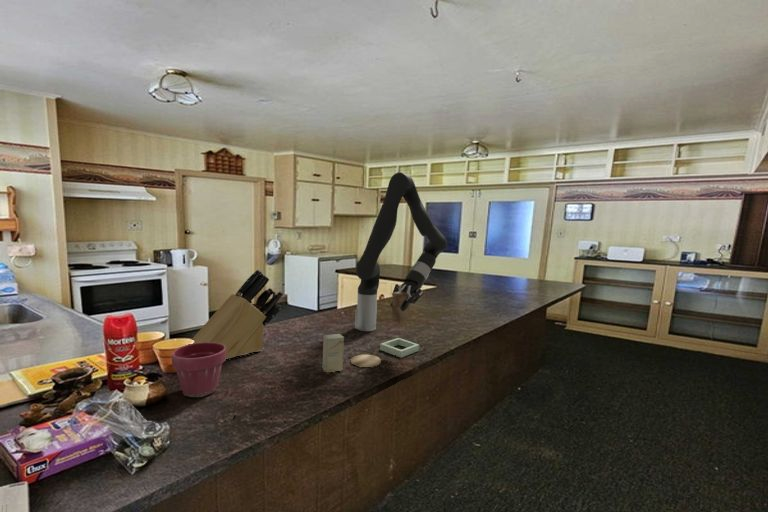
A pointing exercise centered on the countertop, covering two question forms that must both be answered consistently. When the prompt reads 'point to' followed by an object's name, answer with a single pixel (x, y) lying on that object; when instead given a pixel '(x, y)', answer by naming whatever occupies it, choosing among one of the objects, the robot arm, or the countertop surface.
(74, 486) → the countertop surface
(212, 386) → the plant pot
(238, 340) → the knife block
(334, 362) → the skincare box
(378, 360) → the coaster
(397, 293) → the walnut block
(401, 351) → the holder
